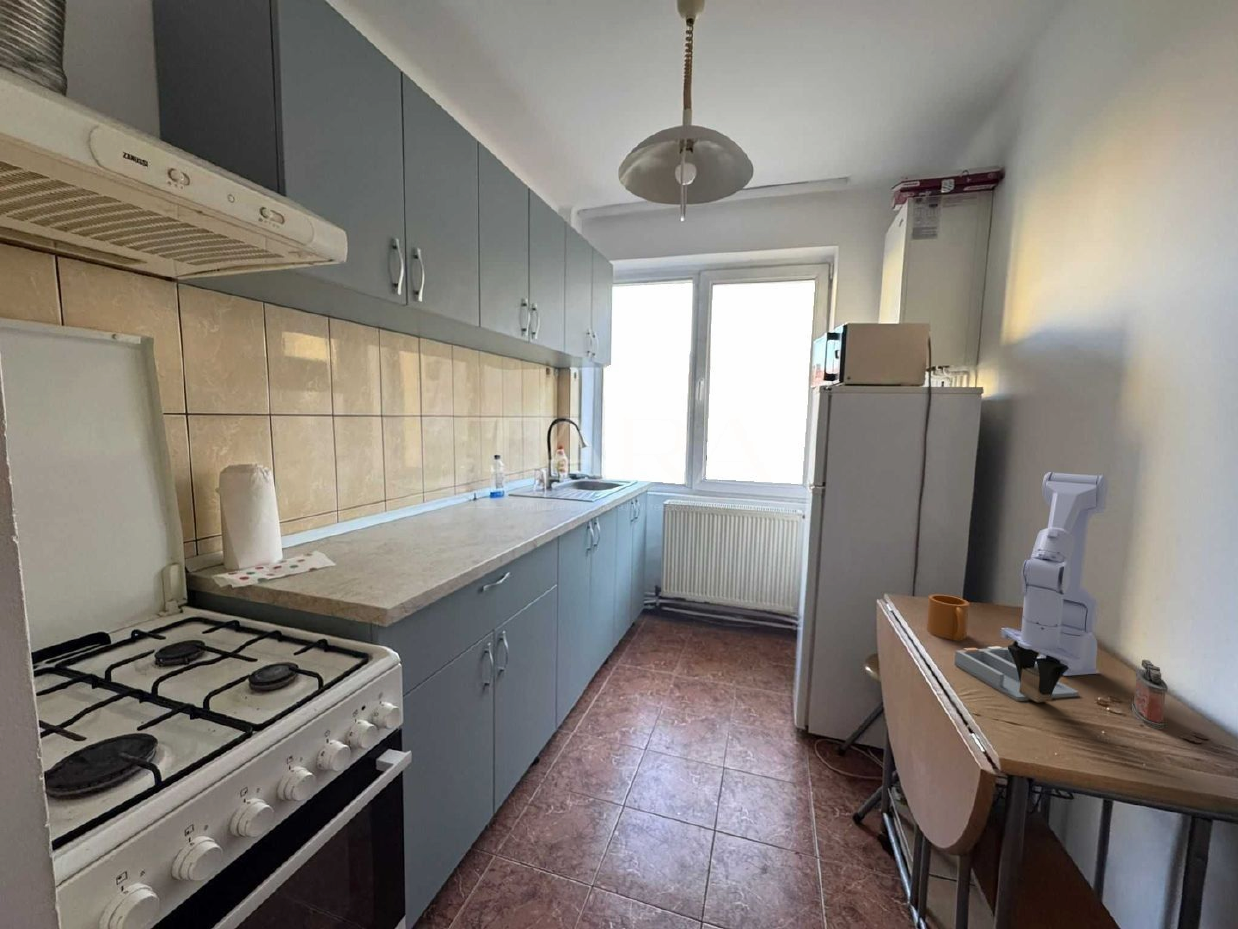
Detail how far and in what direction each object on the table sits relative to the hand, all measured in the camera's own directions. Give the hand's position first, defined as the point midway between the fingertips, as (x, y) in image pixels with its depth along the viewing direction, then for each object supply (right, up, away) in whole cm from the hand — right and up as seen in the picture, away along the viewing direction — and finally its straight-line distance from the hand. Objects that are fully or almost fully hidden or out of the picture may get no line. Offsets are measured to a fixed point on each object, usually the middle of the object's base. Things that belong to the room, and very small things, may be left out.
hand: (1035, 688), depth 98 cm
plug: (0, -2, 0) cm, 2 cm away
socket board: (+2, -2, +9) cm, 9 cm away
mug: (+3, -1, +31) cm, 31 cm away
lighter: (+17, -4, -5) cm, 18 cm away
